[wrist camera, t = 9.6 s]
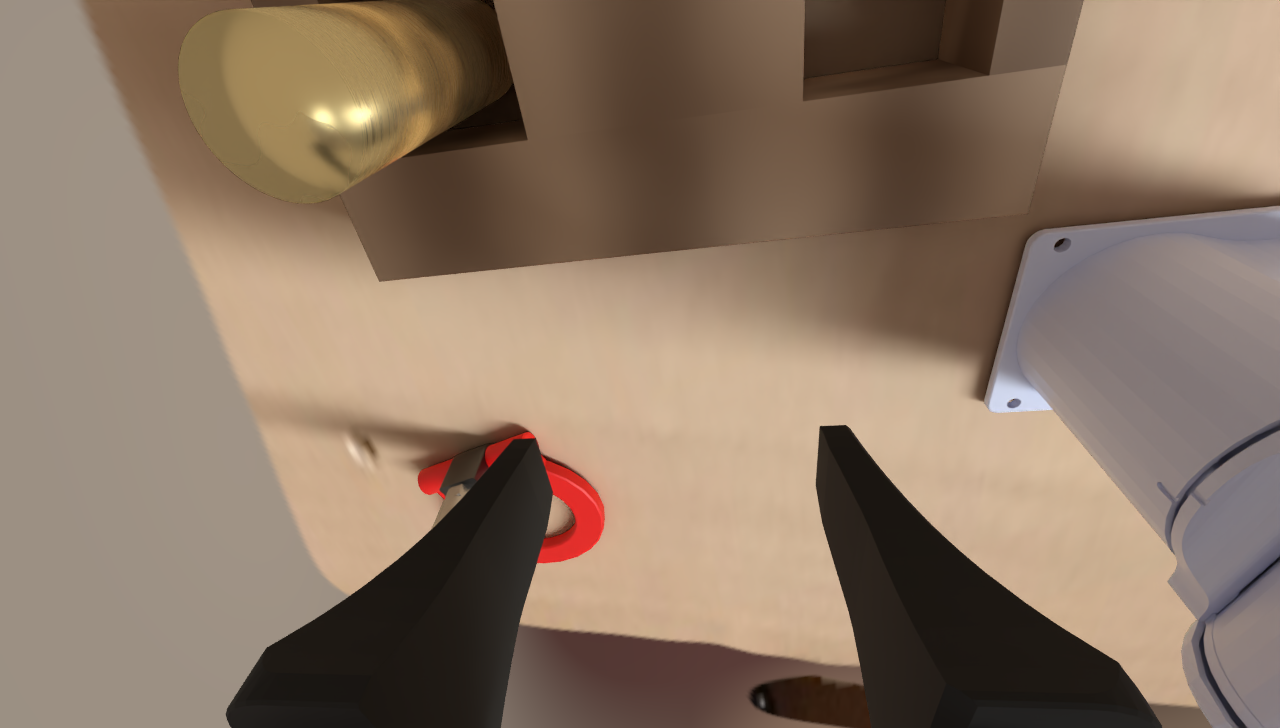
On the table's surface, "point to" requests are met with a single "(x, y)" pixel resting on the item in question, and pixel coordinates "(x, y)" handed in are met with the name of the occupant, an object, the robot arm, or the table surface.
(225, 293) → the table surface
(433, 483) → the tow hook
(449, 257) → the hole block
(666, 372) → the table surface
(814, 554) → the table surface
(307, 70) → the brass pin
